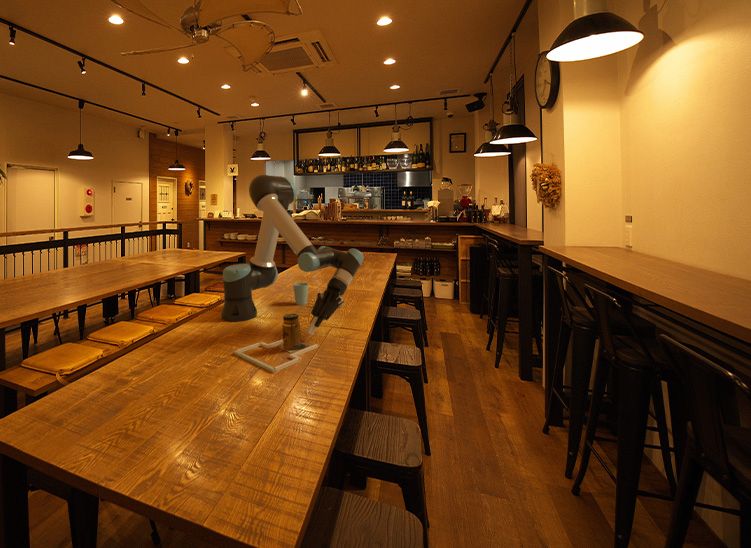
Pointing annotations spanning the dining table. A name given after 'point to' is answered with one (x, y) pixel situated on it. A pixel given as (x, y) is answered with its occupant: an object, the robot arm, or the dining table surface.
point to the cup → (301, 293)
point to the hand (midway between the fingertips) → (309, 333)
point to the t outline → (261, 364)
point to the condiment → (291, 333)
